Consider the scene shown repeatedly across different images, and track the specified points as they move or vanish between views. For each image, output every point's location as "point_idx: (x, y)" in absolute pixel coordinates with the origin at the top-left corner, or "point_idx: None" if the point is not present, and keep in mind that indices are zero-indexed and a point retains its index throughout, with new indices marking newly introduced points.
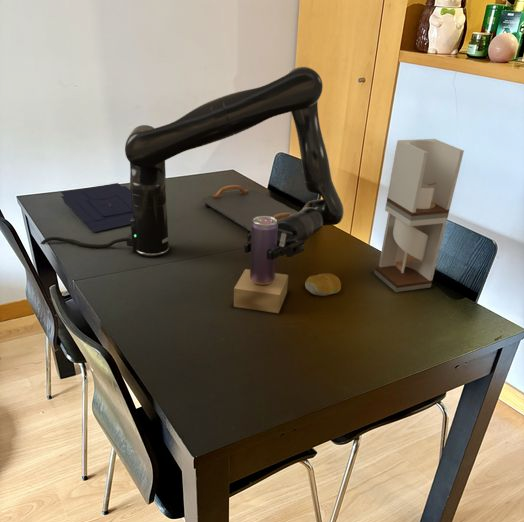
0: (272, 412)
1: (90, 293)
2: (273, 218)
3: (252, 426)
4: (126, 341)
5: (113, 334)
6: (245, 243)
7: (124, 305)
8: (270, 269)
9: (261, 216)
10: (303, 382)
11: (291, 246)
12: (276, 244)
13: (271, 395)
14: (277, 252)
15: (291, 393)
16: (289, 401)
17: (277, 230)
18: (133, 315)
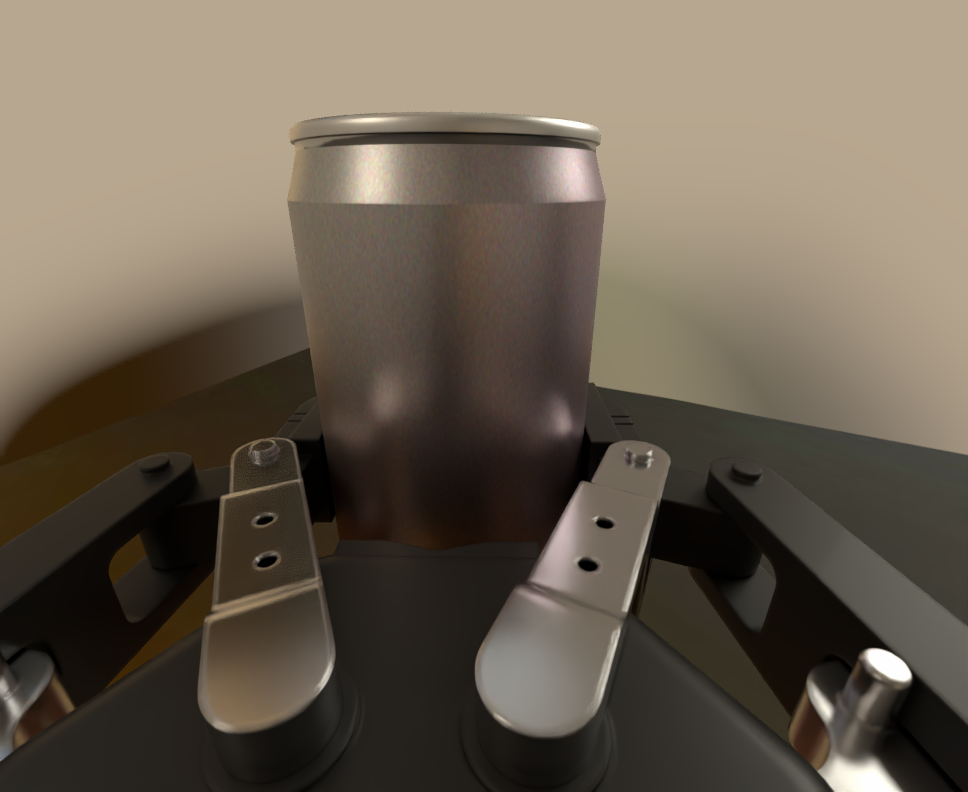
0: (241, 386)
1: (930, 454)
2: (377, 124)
3: (271, 368)
4: (614, 396)
5: (658, 398)
6: (618, 406)
7: (795, 457)
8: None
9: (565, 126)
10: (172, 442)
11: (129, 476)
12: (320, 414)
13: (249, 404)
14: (293, 418)
15: (204, 417)
16: (208, 406)
17: (297, 259)
18: (719, 442)
